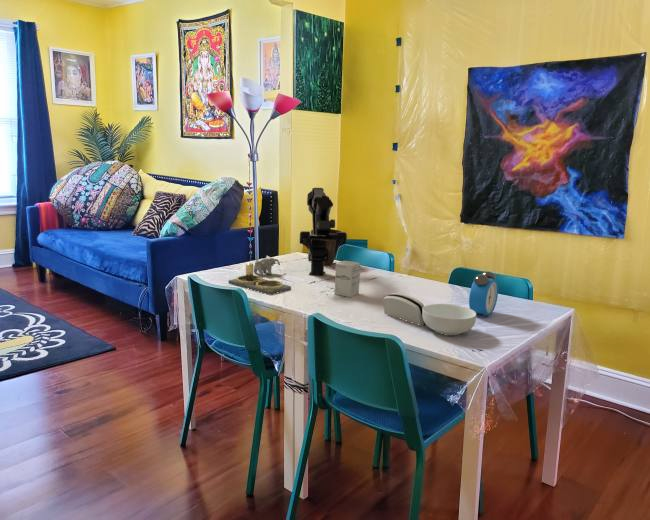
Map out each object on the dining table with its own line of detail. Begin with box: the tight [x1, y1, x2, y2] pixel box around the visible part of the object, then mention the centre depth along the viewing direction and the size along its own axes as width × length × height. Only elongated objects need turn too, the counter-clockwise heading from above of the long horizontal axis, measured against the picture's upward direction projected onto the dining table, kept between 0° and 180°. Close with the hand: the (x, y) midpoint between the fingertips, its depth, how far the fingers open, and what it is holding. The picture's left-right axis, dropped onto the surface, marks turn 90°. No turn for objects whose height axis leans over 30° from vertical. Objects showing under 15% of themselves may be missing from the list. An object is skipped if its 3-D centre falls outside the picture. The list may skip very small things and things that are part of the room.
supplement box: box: [334, 259, 361, 298], centre depth 216 cm, size 7×7×13 cm
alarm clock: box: [468, 271, 499, 318], centre depth 196 cm, size 13×6×15 cm, turn 144°
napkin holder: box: [382, 292, 425, 326], centre depth 188 cm, size 17×5×10 cm, turn 42°
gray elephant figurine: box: [253, 255, 281, 277], centre depth 246 cm, size 9×12×8 cm
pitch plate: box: [228, 262, 292, 295], centre depth 224 cm, size 24×12×8 cm, turn 50°
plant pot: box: [310, 228, 342, 266], centre depth 268 cm, size 15×15×16 cm
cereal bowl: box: [422, 303, 477, 336], centre depth 177 cm, size 17×17×7 cm
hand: (323, 256), depth 219 cm, fingers open, 9 cm apart
